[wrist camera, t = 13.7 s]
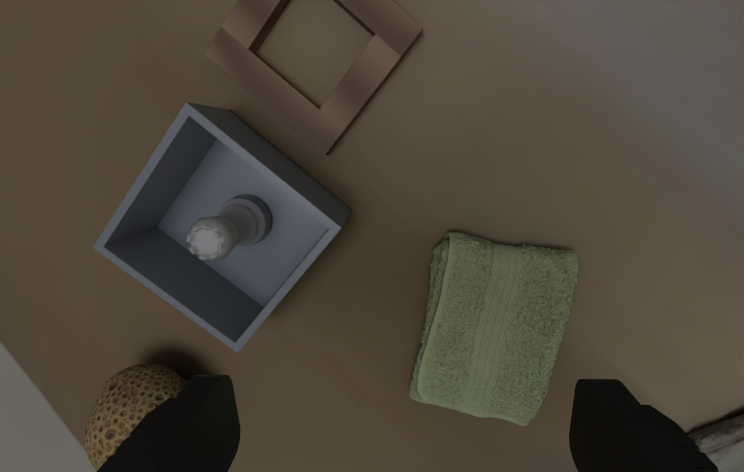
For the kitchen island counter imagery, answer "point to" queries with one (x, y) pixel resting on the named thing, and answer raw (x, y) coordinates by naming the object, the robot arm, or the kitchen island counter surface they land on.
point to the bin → (204, 199)
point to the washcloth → (493, 326)
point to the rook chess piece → (229, 228)
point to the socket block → (317, 125)
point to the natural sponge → (127, 406)
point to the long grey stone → (723, 443)
